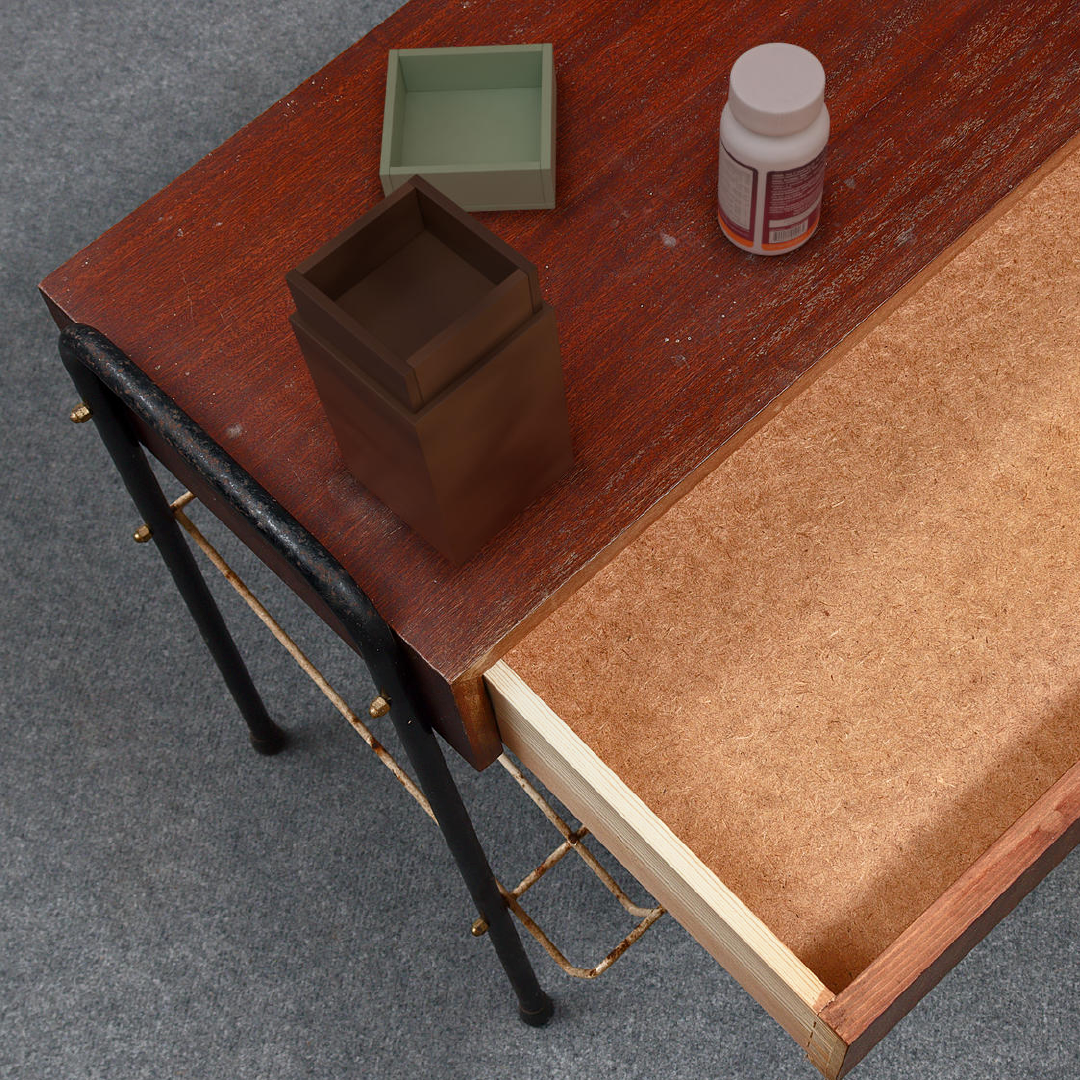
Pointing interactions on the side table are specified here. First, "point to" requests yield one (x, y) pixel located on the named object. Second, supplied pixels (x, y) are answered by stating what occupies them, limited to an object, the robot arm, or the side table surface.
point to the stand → (435, 366)
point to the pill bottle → (773, 149)
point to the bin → (473, 124)
